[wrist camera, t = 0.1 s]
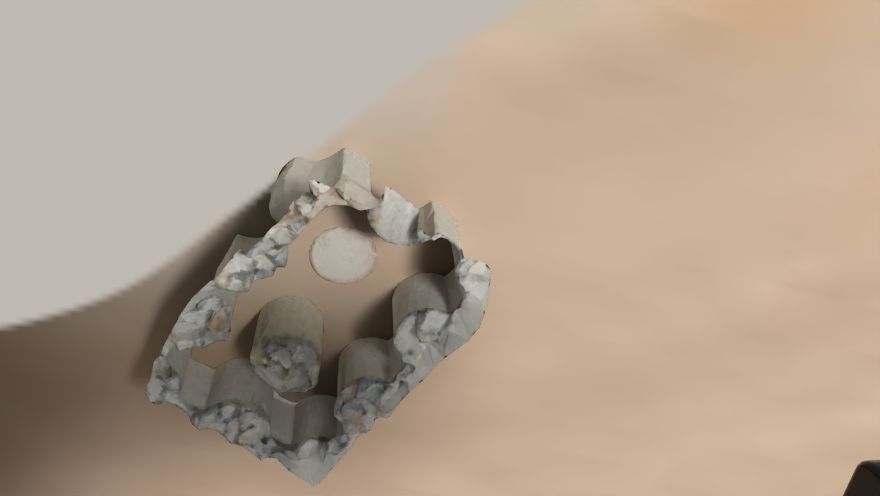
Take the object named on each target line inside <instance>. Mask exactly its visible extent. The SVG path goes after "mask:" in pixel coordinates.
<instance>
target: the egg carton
mask: <svg viewBox="0 0 880 496" xmlns="http://www.w3.org/2000/svg"><path fill="white" fill-rule="evenodd" d="M306 159H307V158H303V157H296V158H293V159H292V160H290V161H289V162H288V163H287V164H286V165H285V166H284V167H283V168H282V169H281V171H280V173H279V175H278V178H277V180H276V181H275V183H274V184H273V185H272V186H271V188H270V189H269V190H268V191H269V192H271V200H270V202H269V210H270V215H271V216H272V218H273V219H274V220H275V221H276V223H277V224H276V225H274V226H273V227H272V228H271V229H270V230H269V231H268V232H267V234H266V235H265V237H259V238H252V237H245V236H242V235H239V234H238V235H236V237H235V239H234V241H233V242H232V244H231V246H230V248H229V250H228V252H227V253H226V255H225V257H224V259H223V260H222V262H221V264H220V265H219V267H218V268H217V271H216V275H215V278H214V280H211V281H209V282H208V283H207V284H206V285H205V286H204V287H203V288H202V289H201V290H200V291H199V292H198V293H197V294H196V295H195V296H194V297H193V298H192V299H191V300H190V302H189V303H188V304H187V306H186V307H185V309H184V310H183V311H182V313H181V314H180V316H179V318H178V320H177V322H176V324H175V326H174V327H173V329H172V331H171V333H170V335H169V337H168V338H167V340H166V342H165V344H164V346H163V349H162V351H161V354H160V356H159V357H158V358H156V359H155V361H154V364H153V368H152V374H151V378H150V381H149V383H148V386H147V389H146V390H145V394H146V397H147V398H148V400H149V401H150V402H152V403H154V404H161V403H162V402H163V401H169V402H171V403H173V404H175V405H177V406H179V407H181V408H182V409H183V410H184V411H185V412H186V413H187V414H188V415H189V417H190V420H191V423H192V425H194V426H195V427H196V428H197V429H214V430H216V431H218V432H219V433H221V434H222V435H223V436H224V437H225V438H226V439H227V440H228V441H229V442H230V443H231V444H237V445H240V446H243V447H244V448H245V449H247V450H248V451H249V452H251V453H252V454H254V455H255V456H257V457H258V458H259V459H260V460H263V459H264V458H267V457H268V458H277V459H278V460H279V461H280V462H281V463H282V464H283V465H284V466H285V467H286V468H287V469H288V470H290V471H291V472H292V473H294V474H295V475H297V476H298V477H300V478H302V479H303V480H305V481H307V482H308V483H310V484H312V485H313V486H314V485H316V484H318V483H320V482H321V481H322V479H323V478H324V477H325V476H326V475H327V474H328V472H329V471H330V470H331V469H332V468H333V467H334V465H335V464H336V463H337V462H338V461H339V460H340V459H341V458H342V456H343V455H344V454H345V453H346V452H347V451H348V450H349V449H350V447H351V446H352V444H353V442H354V440H355V439H356V438H357V437H358V436H359V435H360V434H361V433H367V432H368V431H370V429H371V428H372V425H373V423H374V421H375V419H377V418H378V417H384V418H386V417H389V416H390V415H391V413H392V412H393V411H394V410H395V408H396V407H397V406H398V404H399V403H400V402H401V400H402V399H403V398H404V397H405V396H406V395H407V394H408V393H409V392H410V391H411V390H412V389H413V388H414V387H416V386H417V385H418V384H419V383H420V382H422V381H423V380H424V378H425V377H426V376H427V375H428V373H429V372H430V371H431V370H432V368H433V367H434V366H435V365H437V364H438V363H439V362H440V361H442V360H443V359H444V358H445V357H447V356H448V355H449V354H451V353H452V352H453V351H455V350H456V349H457V348H459V347H460V346H462V345H463V344H464V343H466V342H467V341H468V340H469V339H470V338H471V337H472V336H473V334H474V333H475V332H476V331H477V329H478V328H479V327H480V325H481V322H482V319H483V316H484V313H485V308H486V302H487V296H488V291H489V285H490V280H491V274H492V271H491V270H490V268H489V267H488V266H487V264H485V263H484V262H482V261H480V260H474V259H465V258H464V256H463V252H462V249H461V245H460V235H459V231H458V228H457V221H456V219H455V217H454V216H453V215H452V214H451V213H450V212H448V211H447V210H445V209H444V208H442V207H441V206H440V205H439V204H438V203H436V202H432V201H431V202H429V203H428V204H427V205H425V206H424V207H422V208H420V209H417V208H416V207H415V206H414V205H413V204H411V203H410V202H408V201H407V200H406V199H404V198H403V197H402V196H400V195H399V194H398V193H396V192H395V191H394V190H392V189H391V188H389V187H385V188H384V194H383V196H382V197H381V198H379V199H377V198H376V197H375V196H373V195H372V193H371V184H370V163H368V162H367V161H366V160H365V159H363V158H362V157H360V156H358V155H357V154H355V153H354V152H352V151H351V150H349V149H347V148H343V149H342V150H340V151H339V152H338V153H336V154H334V155H332V156H331V157H329V158H327V159H324V160H320V161H304V160H306ZM333 204H335V205H348V206H350V207H353V208H355V209H358V210H366V211H367V218H368V222H369V224H370V226H371V228H372V229H373V230H374V231H375V232H376V233H377V234H378V236H379V237H380V238H382V239H383V240H385V241H386V242H389V243H393V244H399V245H407V246H411V245H415V244H419V243H423V242H425V241H427V240H436V239H438V238H440V237H442V238H445V239H448V240H449V241H450V242H451V246H452V252H453V257H454V263H455V267H454V269H453V270H452V271H451V272H450V273H449V274H447V275H446V276H445V277H444V276H441V275H438V274H435V273H419V274H415V275H412V276H410V277H408V278H406V279H405V280H403V281H402V282H400V283H399V285H398V286H397V288H396V289H395V291H394V294H393V297H392V309H393V337H392V338H391V339H390V340H385V339H381V338H375V337H368V338H361V339H357V340H355V341H353V342H351V343H350V344H349V345H347V346H346V347H345V348H344V349H343V350H342V352H341V354H340V357H339V369H338V391H337V397H334V396H330V395H313V396H310V397H306V398H304V399H301V400H300V401H298V402H291V401H288V400H286V399H285V398H282V397H281V396H279V393H284V392H306V391H308V390H310V389H312V388H314V387H315V386H316V384H317V383H318V377H319V370H320V365H321V360H322V352H323V332H324V324H323V318H322V315H321V312H320V309H319V308H318V307H317V306H315V305H314V304H313V303H312V302H311V301H308V300H306V299H304V298H300V297H295V296H285V297H280V298H277V299H274V300H272V301H271V302H268V303H267V304H266V305H265V306H264V307H263V308H262V309H261V311H260V314H259V316H258V320H257V326H256V331H255V336H254V341H253V346H252V350H251V354H250V359H246V358H243V359H241V358H239V359H232V360H229V361H227V362H224V363H223V364H221V365H220V366H219V367H217V368H215V369H213V368H210V367H208V366H206V365H204V364H201V363H199V362H197V361H195V360H193V359H191V352H192V347H198V348H203V347H205V346H207V345H209V344H210V343H212V342H214V341H226V339H227V337H228V335H229V334H230V332H231V328H230V325H231V319H232V314H233V310H234V306H235V302H236V298H237V292H248V291H249V288H250V286H251V284H252V282H253V281H255V280H257V279H263V278H266V277H269V276H272V275H273V274H274V272H275V270H276V268H277V267H285V265H286V262H287V256H288V247H287V245H289V244H290V243H292V242H293V241H294V240H295V239H296V237H297V236H298V235H299V234H300V233H301V232H302V231H303V229H304V228H305V227H306V226H307V225H308V224H309V222H310V221H311V220H312V219H313V218H314V217H315V216H316V215H317V214H318V213H320V212H321V211H322V210H323V209H324V208H326V207H328V206H330V205H333ZM309 253H310V262H311V264H312V267H313V268H314V270H315V271H316V272H317V274H318V275H320V276H321V277H322V278H324V279H325V280H328V281H331V282H334V283H340V284H347V283H352V282H357V281H359V280H360V279H362V278H363V277H365V276H366V275H368V274H369V273H371V272H372V271H373V269H374V267H375V265H376V261H377V253H376V248H375V245H374V242H373V241H372V239H371V238H370V237H369V236H368V235H366V234H365V233H364V232H362V231H360V230H357V229H355V228H346V227H336V228H333V229H330V230H326V231H324V232H323V233H322V234H320V235H319V236H318V237H317V238H315V240H314V243H313V245H311V249H310V251H309Z"/></svg>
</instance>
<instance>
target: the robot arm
mask: <svg viewBox="0 0 880 496" xmlns="http://www.w3.org/2000/svg"><path fill="white" fill-rule="evenodd" d="M843 496H880V460H869V461H863V462H861V463H860V464H859V465H858V466H857V467H856V469H855V471H854V473H853V475H852V478H851V480H850V482H849V484H848V486H847V488H846V490H845V492H844V494H843Z"/></svg>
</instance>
